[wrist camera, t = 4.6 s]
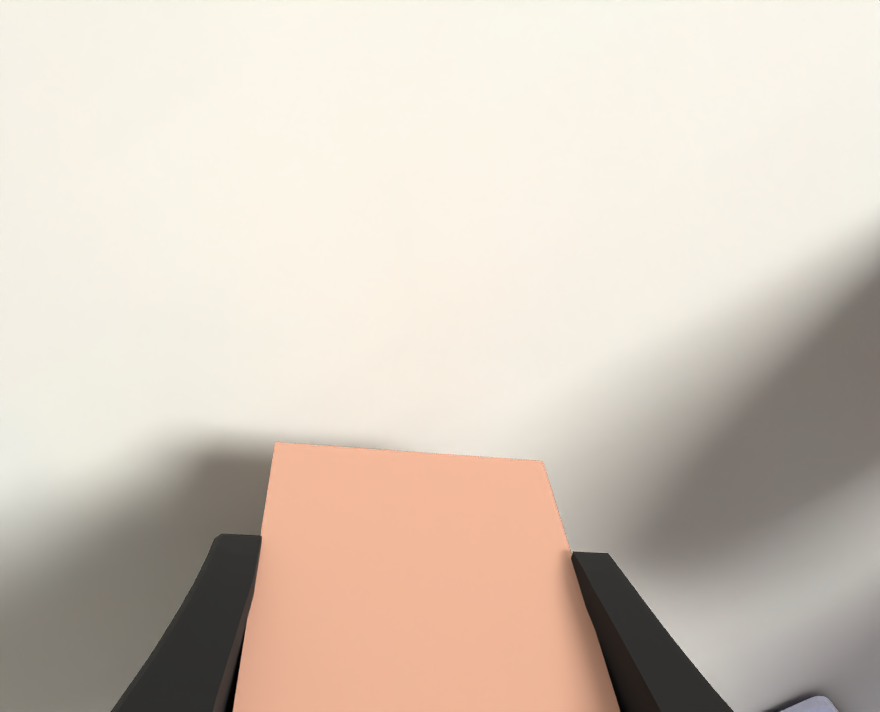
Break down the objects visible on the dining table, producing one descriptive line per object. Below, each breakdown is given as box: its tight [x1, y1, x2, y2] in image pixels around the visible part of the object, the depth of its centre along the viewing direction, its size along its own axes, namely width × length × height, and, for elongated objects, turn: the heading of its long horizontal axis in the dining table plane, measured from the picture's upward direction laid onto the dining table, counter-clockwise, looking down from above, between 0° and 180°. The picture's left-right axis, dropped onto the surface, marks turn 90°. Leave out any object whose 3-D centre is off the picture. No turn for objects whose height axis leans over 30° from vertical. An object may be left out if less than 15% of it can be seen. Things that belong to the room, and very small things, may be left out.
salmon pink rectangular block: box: [233, 442, 620, 712], centre depth 11 cm, size 2×5×8 cm, turn 81°
